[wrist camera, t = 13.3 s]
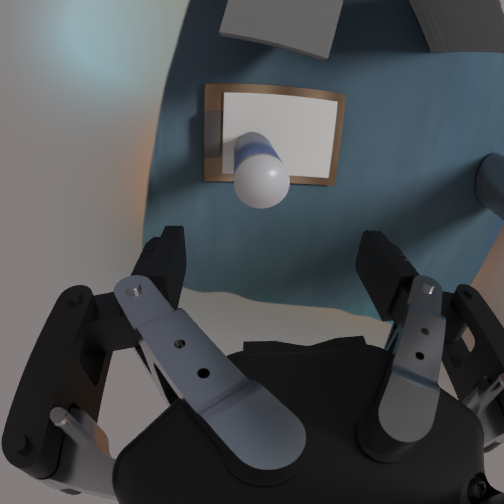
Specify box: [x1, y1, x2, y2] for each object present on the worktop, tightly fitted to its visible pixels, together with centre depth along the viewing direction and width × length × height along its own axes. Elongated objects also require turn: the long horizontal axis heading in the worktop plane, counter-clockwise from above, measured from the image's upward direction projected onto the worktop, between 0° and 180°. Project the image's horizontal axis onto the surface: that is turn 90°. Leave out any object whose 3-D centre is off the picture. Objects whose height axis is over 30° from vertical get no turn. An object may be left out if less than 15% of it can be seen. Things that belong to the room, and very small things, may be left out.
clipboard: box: [204, 83, 346, 186], centre depth 29 cm, size 15×11×2 cm
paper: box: [222, 92, 338, 178], centre depth 29 cm, size 12×9×1 cm
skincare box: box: [409, 0, 504, 53], centre depth 14 cm, size 8×7×16 cm
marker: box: [234, 132, 290, 209], centre depth 24 cm, size 4×4×12 cm
